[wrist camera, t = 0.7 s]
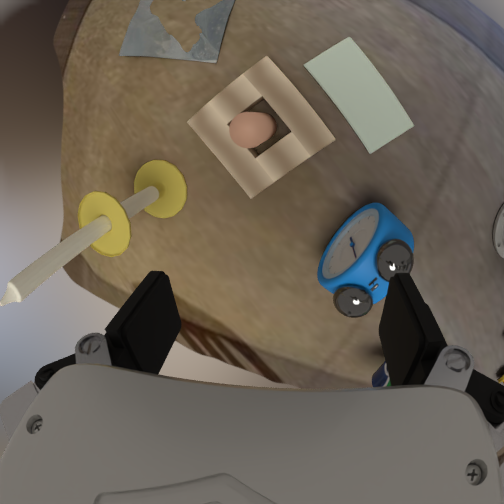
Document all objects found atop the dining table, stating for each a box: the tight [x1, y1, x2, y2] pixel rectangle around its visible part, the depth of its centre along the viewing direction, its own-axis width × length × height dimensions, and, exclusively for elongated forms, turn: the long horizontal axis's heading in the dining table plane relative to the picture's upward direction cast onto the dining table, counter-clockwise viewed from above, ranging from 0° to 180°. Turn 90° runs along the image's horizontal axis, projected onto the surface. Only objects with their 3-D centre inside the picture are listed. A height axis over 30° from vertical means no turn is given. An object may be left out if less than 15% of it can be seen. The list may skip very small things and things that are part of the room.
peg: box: [229, 112, 277, 148], centre depth 32 cm, size 4×4×10 cm
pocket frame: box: [187, 56, 336, 198], centre depth 35 cm, size 14×14×3 cm
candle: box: [0, 160, 187, 306], centre depth 30 cm, size 10×10×32 cm
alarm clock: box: [317, 203, 414, 318], centre depth 35 cm, size 13×6×15 cm, turn 146°
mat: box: [304, 37, 414, 154], centre depth 31 cm, size 8×15×1 cm, turn 39°
